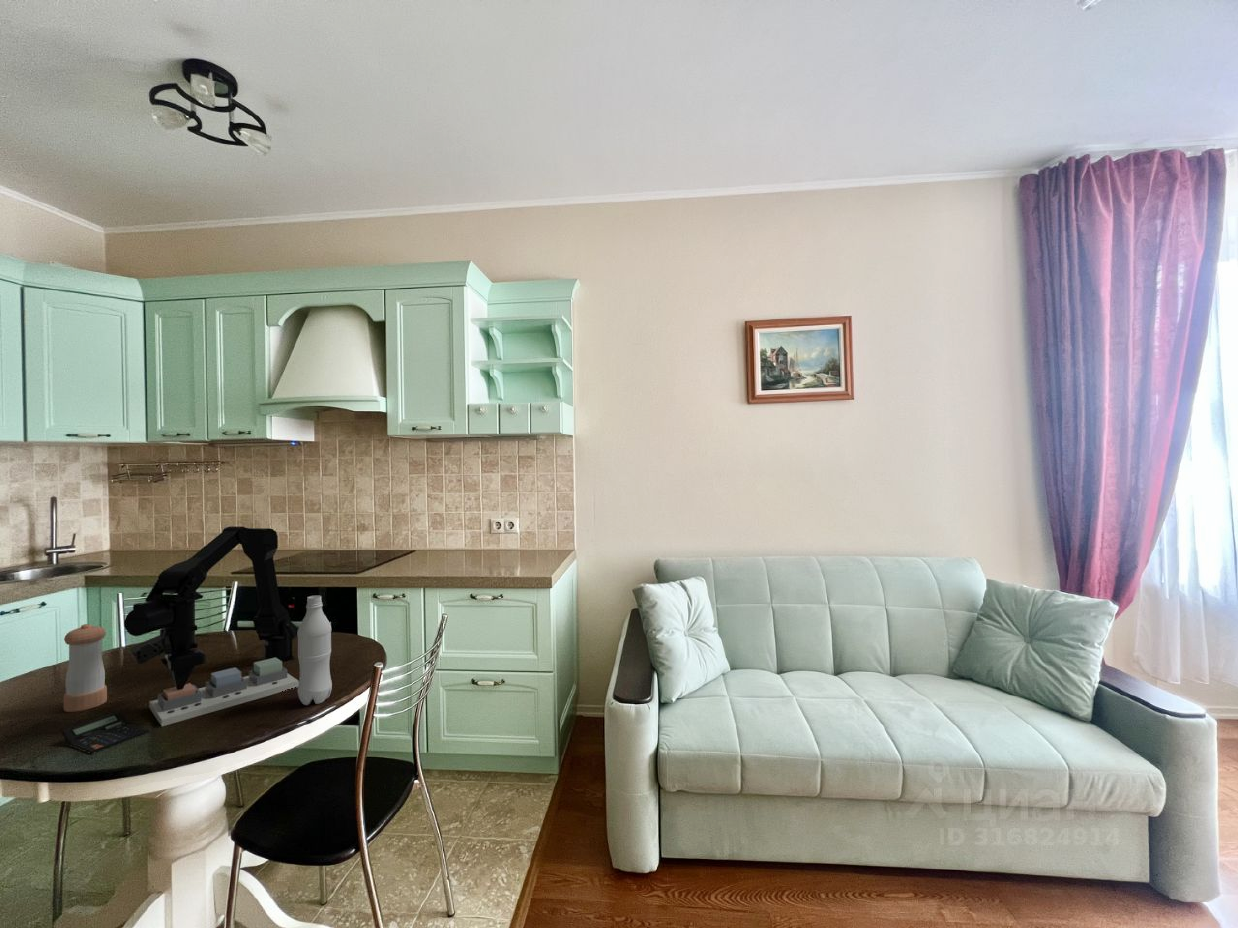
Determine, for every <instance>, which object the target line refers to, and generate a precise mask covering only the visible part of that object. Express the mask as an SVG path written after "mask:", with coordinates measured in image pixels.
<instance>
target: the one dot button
mask: <svg viewBox="0 0 1238 928" xmlns="http://www.w3.org/2000/svg"><path fill="white" fill-rule="evenodd" d="M282 666H283V662H282V661H280V660H279V659H277V658H276V657H275V658H271V659H267V660H263V659H262V660H258V661H255V662H253V670H254V673H255V674H256V675H258V676H263V675H267V674H270V673H274V672H278V671H282Z"/></svg>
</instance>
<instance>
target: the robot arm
mask: <svg viewBox="0 0 1238 928" xmlns="http://www.w3.org/2000/svg"><path fill="white" fill-rule="evenodd" d="M278 538H279V537H278V532H277V531H276V530H274V529H273V528H269V527H267V528H265V527H263V528H258V527H257V528H254V527H245V526H232V525H230V526H227V527H225V528H223V529H222V531H221V533H219V534H218V535H217V536H215V537H214V538H213V539H212V540H211V541H209V542H208V543H207V544H206V545H204V546H203V547H202V548H201V549H200V550H198V552H196V553H194V554H193V555H192V556H191V557H190V558H188V559H186V560H183V561H180V562H177V563H175V564H173V565H171V566H170V567H168V568H166V569H164V570H163V571H161V573H159V575H158V577H157V581H156V582H155V583H154V585H153V587H152V588H151V590H150V591H149V593H148V595H147V596H146V598H145V600H144V601H145V602H138V603H135V604H133V605H132V610H131V611H130V612H128V613H127V615H126V617H125V619H124V620H123V625H124V628H125V630H126V632H127V633H128V634H129V635H131V636H133V637H140V636H143V635H147V634H149V633H153V632H155V631H159V635H157V636H154V637H151V638H149V639H147V640H145V641H143V642H141V643H139V644H136V645H134V646H132V647H130V648H129V652H130V653H131V655H132V657H133V659H134V661H135V663H136V664H137V665H143V664H145V663H147V662H148V661H149V660H151V659H153V658H156V657H157V656H160V655H161V654H163V655H164V658H161V659H160V662H161V663H162V664H163V665H164V666H165V668H167V669H169V670H170V672H171V675H172V680H173V682H174V687H176V689H177V690H181V689H183V688H184V686H185V684H187V682H188V680H189V678H190V675H191V673H193V670H194V668H195V667H197V666H201V665H204V664H206V663H207V659H206V656H207V655H206V654H205V653H204V652H203V651H202V650H200V649H198V642H196V631H198V625H197V624H196V601H198V600H201V599H203V598H204V595H203V594H201V593H199V592H197V590H198V589H199V588H200V587H201V585H202V584H204V582H205V581H206V580H207V576H208V575H207V574H208V572H210V570H211V569H212V568H213V567H214V566H216V564H217V563H219V562H220V561H221V560H222V559H224V558H225V557H226V556H227V555H228V554H229V553H230V552H232V550H234V549H235V548H236V547H237V546H239V545H241V547H242V551H243V553H244V555H246V557H248V559H249V560H250V561H251V563H252V569H253V574H254V580H255V585H256V586H255V587H256V592H257V598H258V605H259V610H258V612H257V613H256V616H253V617H252V623H253V631H255V632H256V634H257V636H258V640H259V641H264V644H263V646H262V661H263V660H267V659H271V658H275V657H276V658H277V659H279V660H280V661H282V663H284V662H286V661H290V660H293V659H295V658H296V656H294V655H293V640H295V639H296V637H297V638H298V636H297V632H298V629H299V627H298V626H297V625H296V624H295V623H293V622H292V620H291V616H290V613H289V611H288V610H287V609H286V607H284V606H283V605H282V603H281V599H280V598H281V597H280V593H279V591H280V590H279V587H278V580H277V575H276V574H277V573H276V568H275V567H276V565H275V561H274V556H275V553H277V552H276V551H277V550H278V548H279V545H278V544H279V542H278V540H279V539H278Z"/></svg>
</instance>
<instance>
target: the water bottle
mask: <svg viewBox="0 0 1238 928" xmlns="http://www.w3.org/2000/svg"><path fill="white" fill-rule="evenodd" d="M306 602H307V603H306V606H305V609H306V612H305V616H304V617H303V619H302V620H301V623H300V624H299V626H298V632H297V657H298V666H299V680H298V681H299V686H298V687H297V695H298V699H299V700H300V703H301V704H303V706H309V705H310V704H311V702H312V701H314V703H315V705H319V704H321V703H323V702H325V700H326V699H329V697H330V695H331V692H332V689H333V687H332V686H333V682H332V678H331V671H330V659H331V654H332V633H331V632H332V626H331V623H330V621H329V619H328V618H327V616H326V614H325V613H324V611H323V606H324V604H323V601H322V595H311V596H307V600H306Z"/></svg>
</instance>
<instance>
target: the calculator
mask: <svg viewBox="0 0 1238 928" xmlns="http://www.w3.org/2000/svg"><path fill="white" fill-rule="evenodd" d="M149 732H150V730H149V729H147V728H144V727H141V726H138V725H135V724H132V723H130V722H129V721H128V720H127V719H126V717H125V716H124V714H122V712H121V710H118V711H116V712H115V711H114V712H111V713H109V714H106V715H103V716H100V717H97V718H94V719H91V720H89V721H84V722H83V723H80V724H77V725H74V726H71V727H68V728H65V729H62V730H61V735H62V737H63V738H64V739H65V741H66V743H68V745H69V746H70V745H72V746H75V747H77V748H80V749H82V750H85V751H86V752H85V753H87V752H90V753H94V752H97V753H99V752H98V751H100V750H102V751H104V750H103V749H105V750H107V749H109V747H110V748H112V747H111V746H113V747H115V746H117V744H118V745H120V744H122V742H123V743H125V742H124V741H126V742H128V741H130V740H129V739H131V740H132V738H133V739H135V737H136V738H138V737H141V736H143V735H146V734H149ZM127 740H128V741H127ZM119 743H120V744H119ZM114 745H115V746H114ZM106 748H107V749H106ZM100 752H101V751H100Z"/></svg>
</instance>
